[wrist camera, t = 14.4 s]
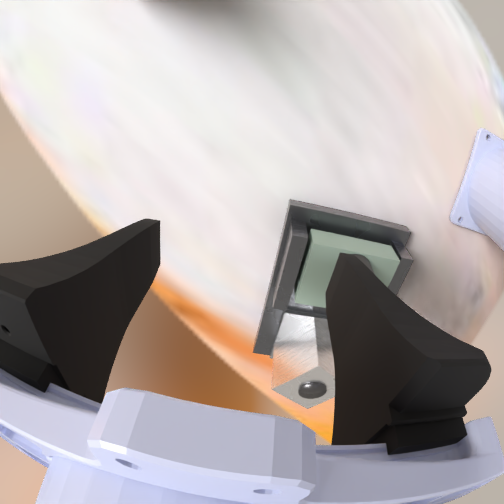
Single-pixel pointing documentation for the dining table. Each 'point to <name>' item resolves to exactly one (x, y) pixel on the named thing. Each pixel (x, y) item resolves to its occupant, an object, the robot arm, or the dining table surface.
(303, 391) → the block
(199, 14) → the dining table surface
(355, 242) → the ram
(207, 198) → the dining table surface
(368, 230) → the press
